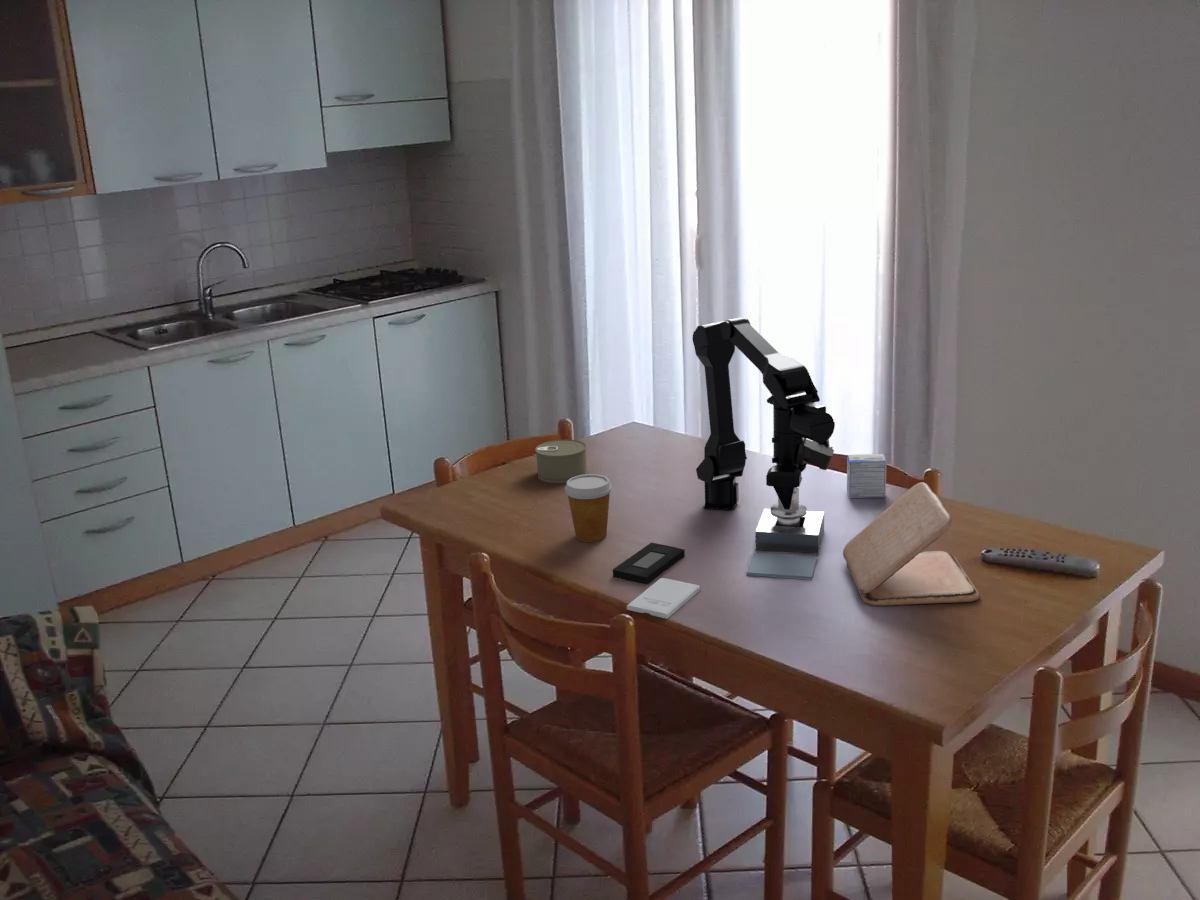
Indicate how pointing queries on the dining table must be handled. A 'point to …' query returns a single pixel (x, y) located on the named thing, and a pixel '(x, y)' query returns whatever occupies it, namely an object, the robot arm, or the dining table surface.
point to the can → (561, 460)
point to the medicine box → (866, 476)
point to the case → (907, 555)
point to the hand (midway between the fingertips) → (788, 505)
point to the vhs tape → (648, 563)
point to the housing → (790, 534)
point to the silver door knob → (789, 511)
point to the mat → (782, 566)
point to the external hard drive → (664, 598)
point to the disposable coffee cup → (589, 505)
